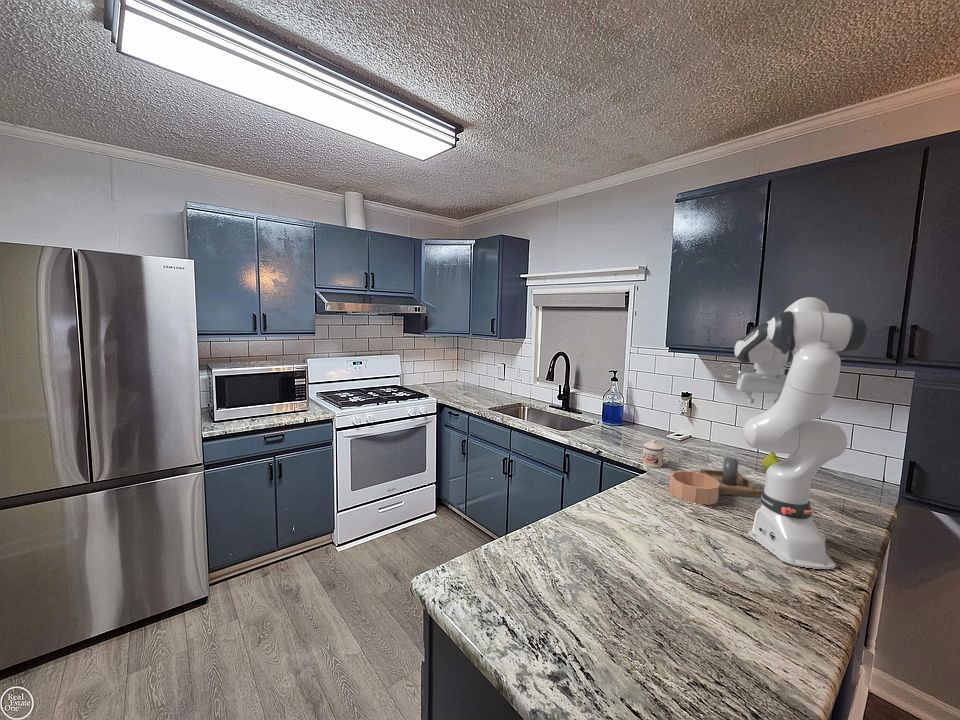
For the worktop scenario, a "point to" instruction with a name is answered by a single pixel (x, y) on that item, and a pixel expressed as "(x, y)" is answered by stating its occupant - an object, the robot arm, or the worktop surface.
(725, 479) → the black canister
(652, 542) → the worktop surface
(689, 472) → the terracotta bowl
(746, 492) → the walnut tray
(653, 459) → the teacup with lid
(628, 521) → the worktop surface
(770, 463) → the fruit
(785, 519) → the robot arm
